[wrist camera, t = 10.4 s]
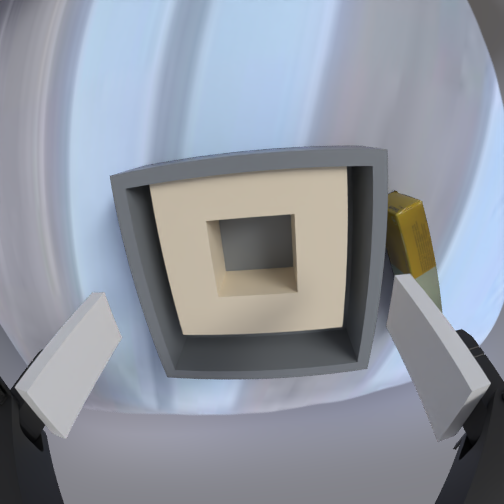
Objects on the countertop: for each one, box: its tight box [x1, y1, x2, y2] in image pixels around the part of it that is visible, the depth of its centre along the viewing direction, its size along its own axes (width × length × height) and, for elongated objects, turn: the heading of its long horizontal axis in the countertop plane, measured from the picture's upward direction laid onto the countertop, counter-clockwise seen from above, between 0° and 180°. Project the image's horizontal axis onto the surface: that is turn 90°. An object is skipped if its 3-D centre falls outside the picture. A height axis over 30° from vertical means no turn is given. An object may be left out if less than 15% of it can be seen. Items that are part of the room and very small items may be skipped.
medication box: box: [386, 190, 442, 313], centre depth 21 cm, size 12×3×4 cm, turn 28°
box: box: [110, 146, 388, 379], centre depth 21 cm, size 17×17×6 cm
